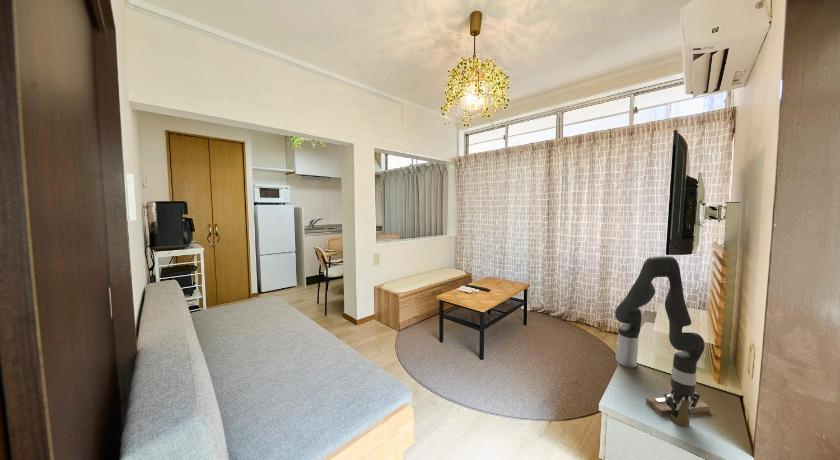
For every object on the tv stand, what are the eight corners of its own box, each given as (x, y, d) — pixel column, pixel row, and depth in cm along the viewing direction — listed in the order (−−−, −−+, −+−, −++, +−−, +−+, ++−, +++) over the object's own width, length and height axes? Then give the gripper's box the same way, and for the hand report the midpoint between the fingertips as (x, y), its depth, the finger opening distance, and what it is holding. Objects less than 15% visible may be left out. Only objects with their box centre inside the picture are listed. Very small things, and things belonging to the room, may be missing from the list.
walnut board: (645, 402, 133) (646, 397, 132) (691, 398, 134) (691, 393, 133) (661, 415, 125) (661, 410, 124) (709, 411, 126) (709, 406, 125)
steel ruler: (655, 399, 131) (655, 398, 131) (682, 395, 132) (682, 394, 132) (658, 402, 129) (659, 401, 129) (686, 398, 131) (686, 397, 131)
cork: (669, 420, 122) (671, 397, 120) (671, 412, 126) (672, 389, 124) (689, 428, 117) (691, 404, 116) (689, 420, 121) (692, 396, 120)
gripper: (690, 371, 123) (687, 407, 125) (659, 374, 122) (656, 410, 125) (709, 383, 115) (705, 421, 118) (675, 386, 115) (672, 424, 117)
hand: (680, 415), depth 121 cm, fingers closed on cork, 4 cm apart
